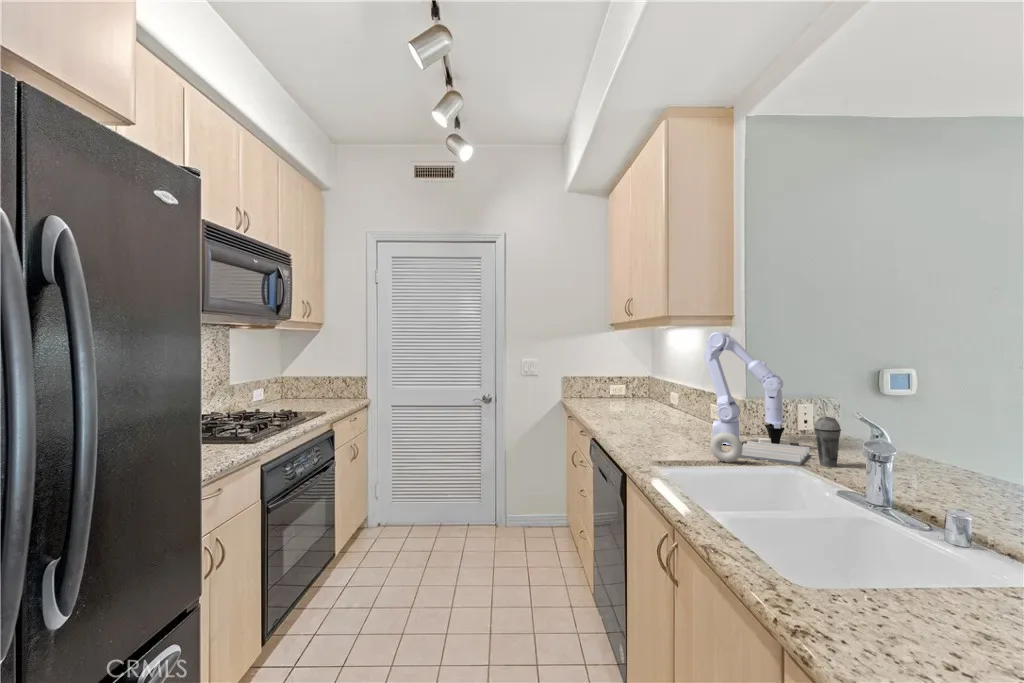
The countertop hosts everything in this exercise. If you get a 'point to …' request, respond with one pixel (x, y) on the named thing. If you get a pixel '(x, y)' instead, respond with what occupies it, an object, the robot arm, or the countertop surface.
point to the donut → (730, 439)
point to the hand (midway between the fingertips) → (774, 444)
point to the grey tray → (775, 452)
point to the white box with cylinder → (782, 441)
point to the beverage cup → (827, 440)
